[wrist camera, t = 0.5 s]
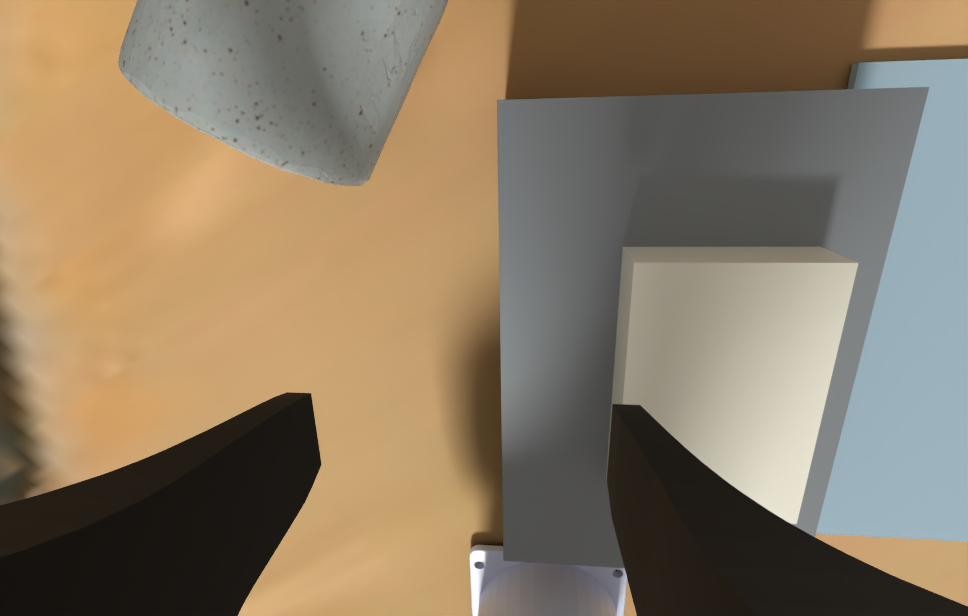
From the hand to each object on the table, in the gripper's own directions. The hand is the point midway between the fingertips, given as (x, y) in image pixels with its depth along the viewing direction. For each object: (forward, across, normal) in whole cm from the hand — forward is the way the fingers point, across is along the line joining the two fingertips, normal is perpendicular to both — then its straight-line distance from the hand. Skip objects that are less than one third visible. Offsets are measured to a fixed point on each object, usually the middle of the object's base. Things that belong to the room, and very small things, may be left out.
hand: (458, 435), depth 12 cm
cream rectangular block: (+6, -8, +1) cm, 10 cm away
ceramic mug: (+10, +7, -11) cm, 16 cm away
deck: (+10, -7, +1) cm, 12 cm away
